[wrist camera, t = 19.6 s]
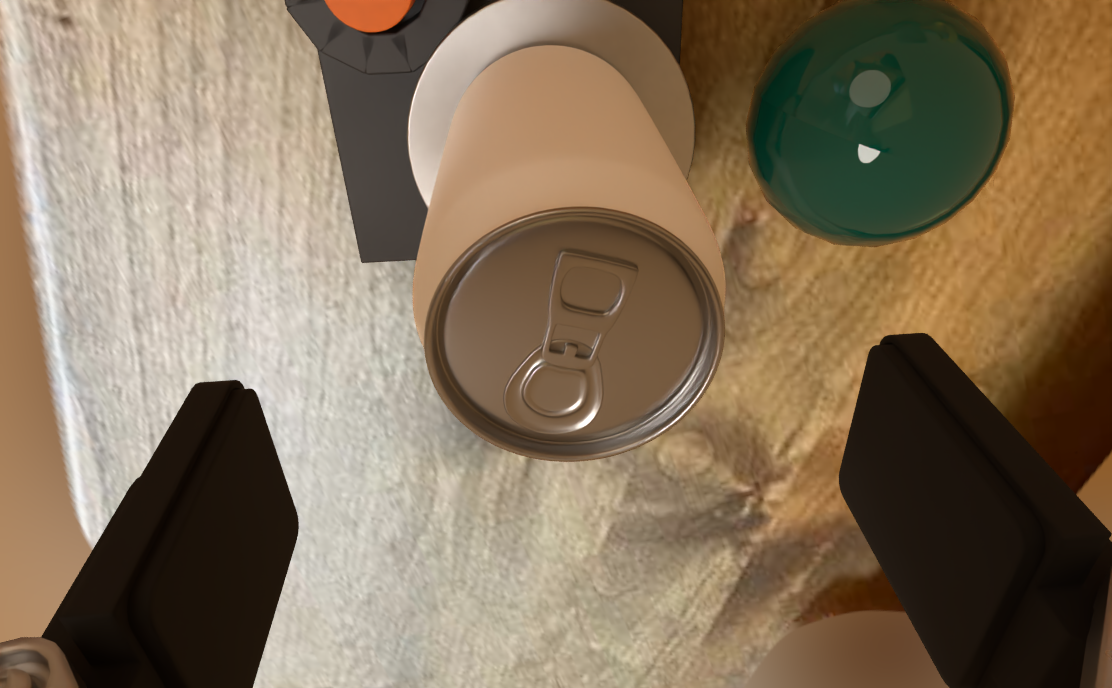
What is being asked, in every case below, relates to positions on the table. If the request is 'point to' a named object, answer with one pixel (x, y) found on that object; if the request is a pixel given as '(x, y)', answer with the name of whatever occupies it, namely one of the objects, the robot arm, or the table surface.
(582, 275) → the can
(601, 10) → the brushed metal disc
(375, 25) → the button
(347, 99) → the scale
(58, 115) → the table surface
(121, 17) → the table surface
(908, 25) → the sphere
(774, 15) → the table surface
